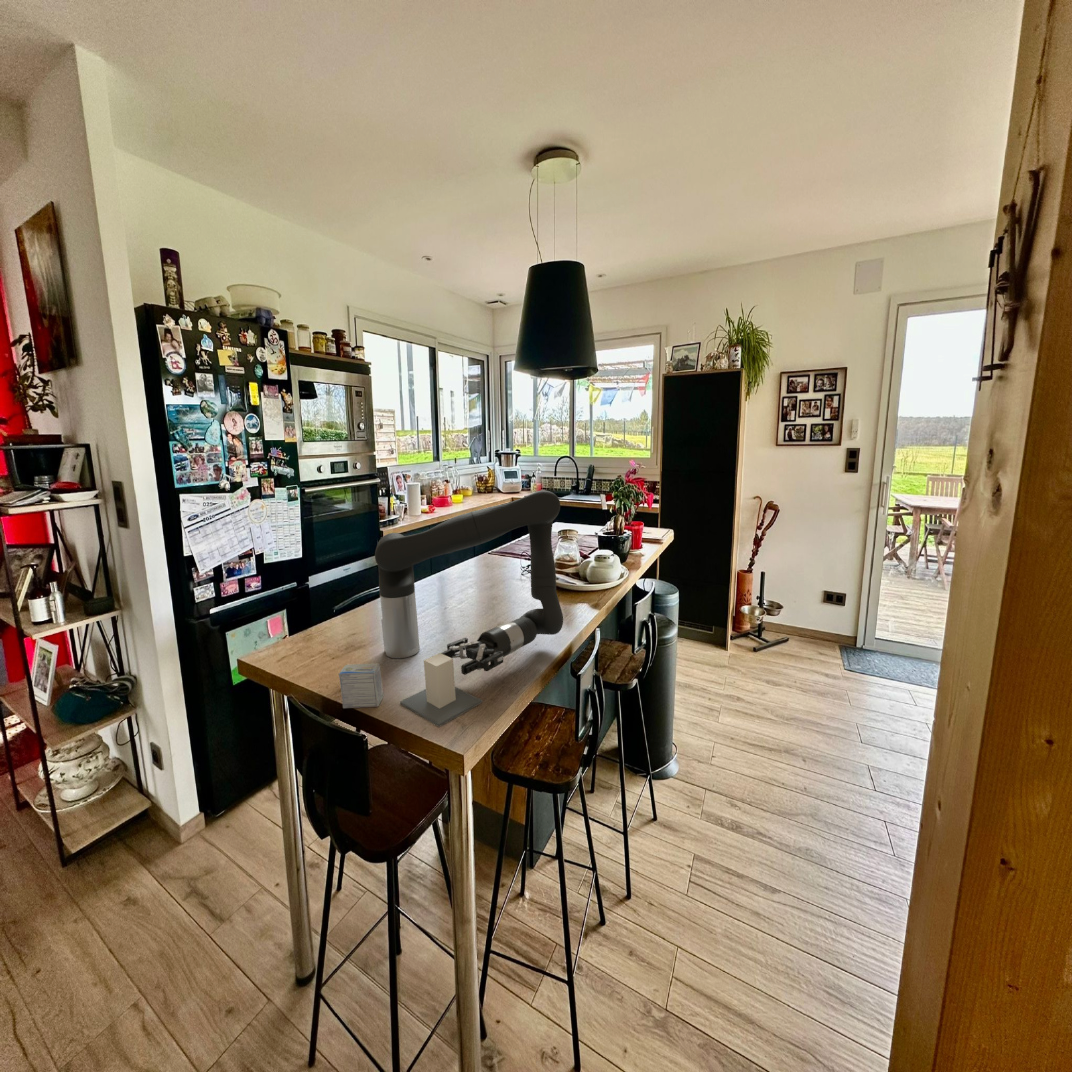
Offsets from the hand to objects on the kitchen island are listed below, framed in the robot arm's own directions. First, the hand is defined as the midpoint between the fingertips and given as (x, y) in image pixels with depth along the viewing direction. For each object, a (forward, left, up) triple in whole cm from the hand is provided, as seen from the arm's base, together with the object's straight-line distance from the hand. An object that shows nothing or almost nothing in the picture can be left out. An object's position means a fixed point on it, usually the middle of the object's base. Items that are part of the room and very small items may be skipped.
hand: (450, 664), depth 110 cm
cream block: (0, -3, -7) cm, 8 cm away
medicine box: (-14, -14, -8) cm, 22 cm away
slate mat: (0, -3, -8) cm, 9 cm away
